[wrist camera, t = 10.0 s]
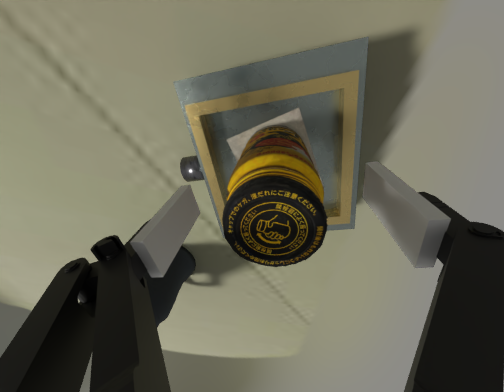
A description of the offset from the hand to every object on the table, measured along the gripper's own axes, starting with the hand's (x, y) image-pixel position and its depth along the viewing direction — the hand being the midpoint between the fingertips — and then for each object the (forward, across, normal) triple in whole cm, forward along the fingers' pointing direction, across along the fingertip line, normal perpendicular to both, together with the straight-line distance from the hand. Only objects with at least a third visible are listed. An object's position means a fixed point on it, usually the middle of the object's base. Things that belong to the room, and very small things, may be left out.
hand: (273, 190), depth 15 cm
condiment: (+6, 0, 0) cm, 6 cm away
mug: (+11, -22, -19) cm, 31 cm away
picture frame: (+11, -1, 0) cm, 11 cm away
